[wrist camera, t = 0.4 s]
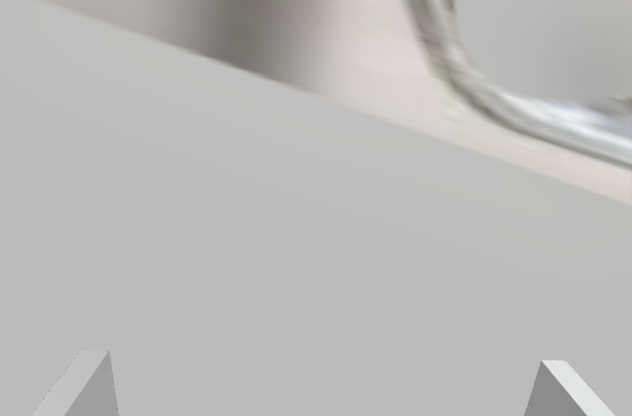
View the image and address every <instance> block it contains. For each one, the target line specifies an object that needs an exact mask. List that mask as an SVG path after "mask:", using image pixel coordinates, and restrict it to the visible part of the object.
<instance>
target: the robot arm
mask: <svg viewBox="0 0 632 416" xmlns="http://www.w3.org/2000/svg"><path fill="white" fill-rule="evenodd" d="M31 416H119V415H118V408H117V401H116V395H115V388H114V381H113V374H112V367H111V360H110V353H109V350H82V351H81V352H80V354H78V356H77V357H76V358H75V360H74V361H73V362H72V363H71V365H70V366H69V367H68V369H67V370H66V371H65V372H64V374H63V375H62V376H61V378H60V379H59V380H58V382H57V383H56V384H55V385H54V386H53V388H52V389H51V390H50V391H49V393H48V394H47V395H46V397H45V398H44V399H43V400H42V402H41V403H40V404H39V406H38V407H37V408H36V409H35V411H34V412H33V413H32V415H31ZM524 416H615V415H614V414H613V413H612V412H611V411H610V410H609V409H608V408H607V407H606V405H605V404H604V403H603V402H602V401H601V400H600V399H599V398H598V397H597V396H596V394H595V393H594V392H593V391H592V390H591V389H590V388H589V387H588V386H587V384H586V383H585V382H584V381H583V380H582V379H581V378H580V377H579V376H578V375H577V374H576V372H575V371H574V370H573V369H572V368H571V367H570V366H569V365H568V364H567V363H566V361H546V360H541V363H540V367H539V370H538V373H537V376H536V380H535V383H534V386H533V389H532V393H531V396H530V399H529V402H528V406H527V408H526V412H525V415H524Z"/></svg>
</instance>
